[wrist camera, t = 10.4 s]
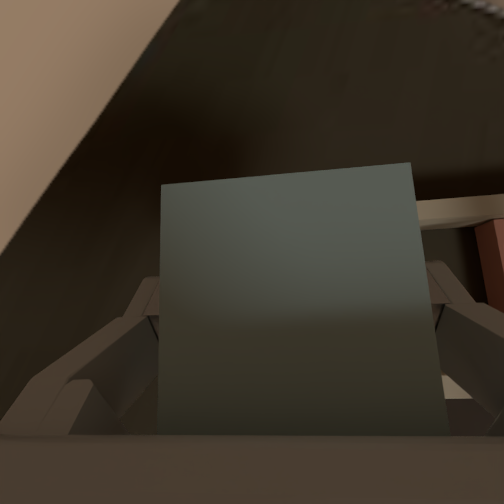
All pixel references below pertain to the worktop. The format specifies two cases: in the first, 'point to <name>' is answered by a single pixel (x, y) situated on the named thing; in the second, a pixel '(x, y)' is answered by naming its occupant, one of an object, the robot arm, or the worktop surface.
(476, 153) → the worktop surface
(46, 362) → the worktop surface
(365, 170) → the grey-green block
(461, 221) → the wooden divided tray
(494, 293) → the box
